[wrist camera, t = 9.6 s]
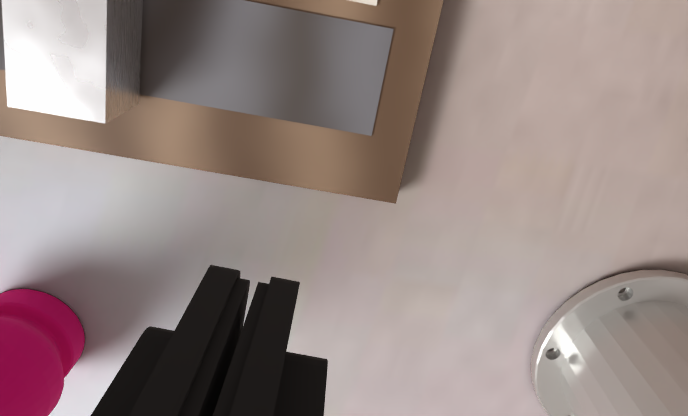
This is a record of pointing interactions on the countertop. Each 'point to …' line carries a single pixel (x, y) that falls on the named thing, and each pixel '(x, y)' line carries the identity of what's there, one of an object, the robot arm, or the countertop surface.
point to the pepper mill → (35, 351)
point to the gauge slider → (73, 56)
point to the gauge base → (266, 92)
